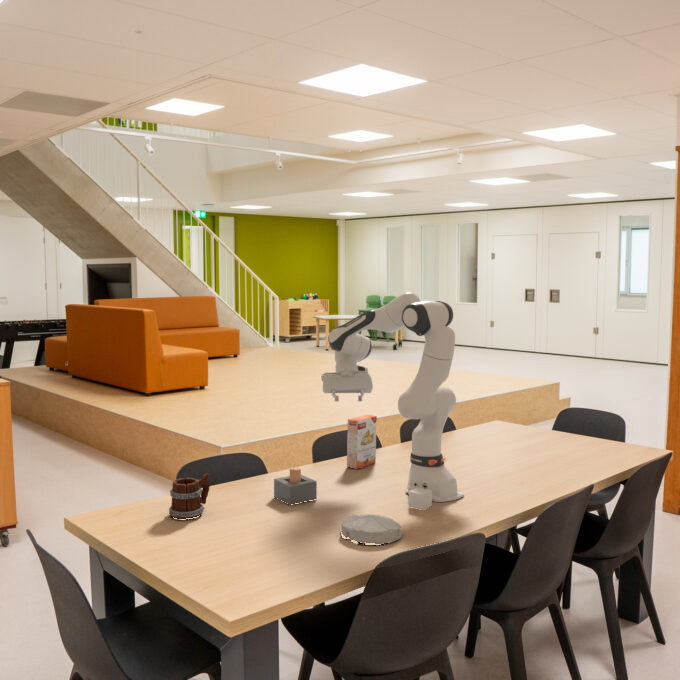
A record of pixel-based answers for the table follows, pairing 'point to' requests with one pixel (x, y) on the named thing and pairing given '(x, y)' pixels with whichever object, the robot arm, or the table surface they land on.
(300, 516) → the table surface
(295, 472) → the peg
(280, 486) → the socket box
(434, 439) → the robot arm
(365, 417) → the cracker box
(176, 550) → the table surface
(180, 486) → the mug
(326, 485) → the table surface
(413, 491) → the white cube
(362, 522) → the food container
